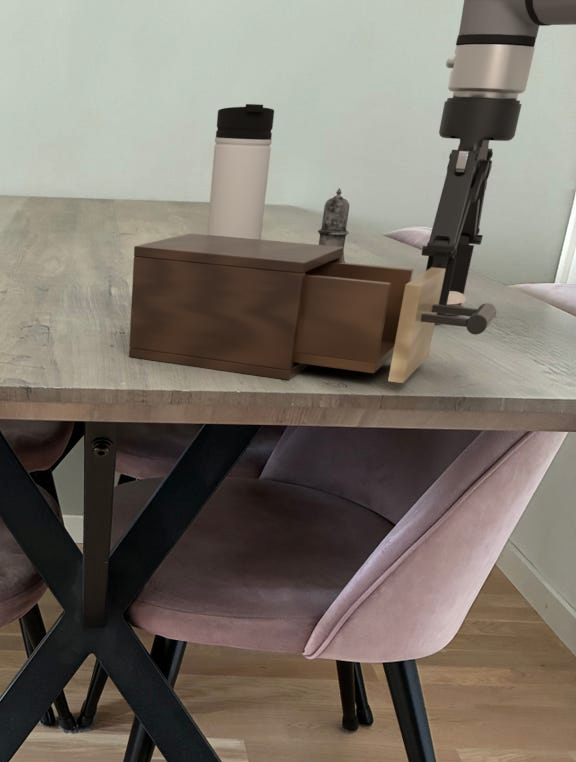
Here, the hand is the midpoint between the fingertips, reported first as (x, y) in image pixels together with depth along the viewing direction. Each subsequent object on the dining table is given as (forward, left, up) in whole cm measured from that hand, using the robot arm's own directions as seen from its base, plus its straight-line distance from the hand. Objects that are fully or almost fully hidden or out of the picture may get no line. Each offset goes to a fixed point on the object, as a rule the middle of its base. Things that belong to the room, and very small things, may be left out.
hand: (439, 312), depth 108 cm
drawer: (+1, +34, +1) cm, 34 cm away
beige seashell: (0, 0, 0) cm, 0 cm away
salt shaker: (+14, -2, 0) cm, 14 cm away
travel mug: (+24, +4, 0) cm, 24 cm away
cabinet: (+13, +34, 0) cm, 36 cm away
